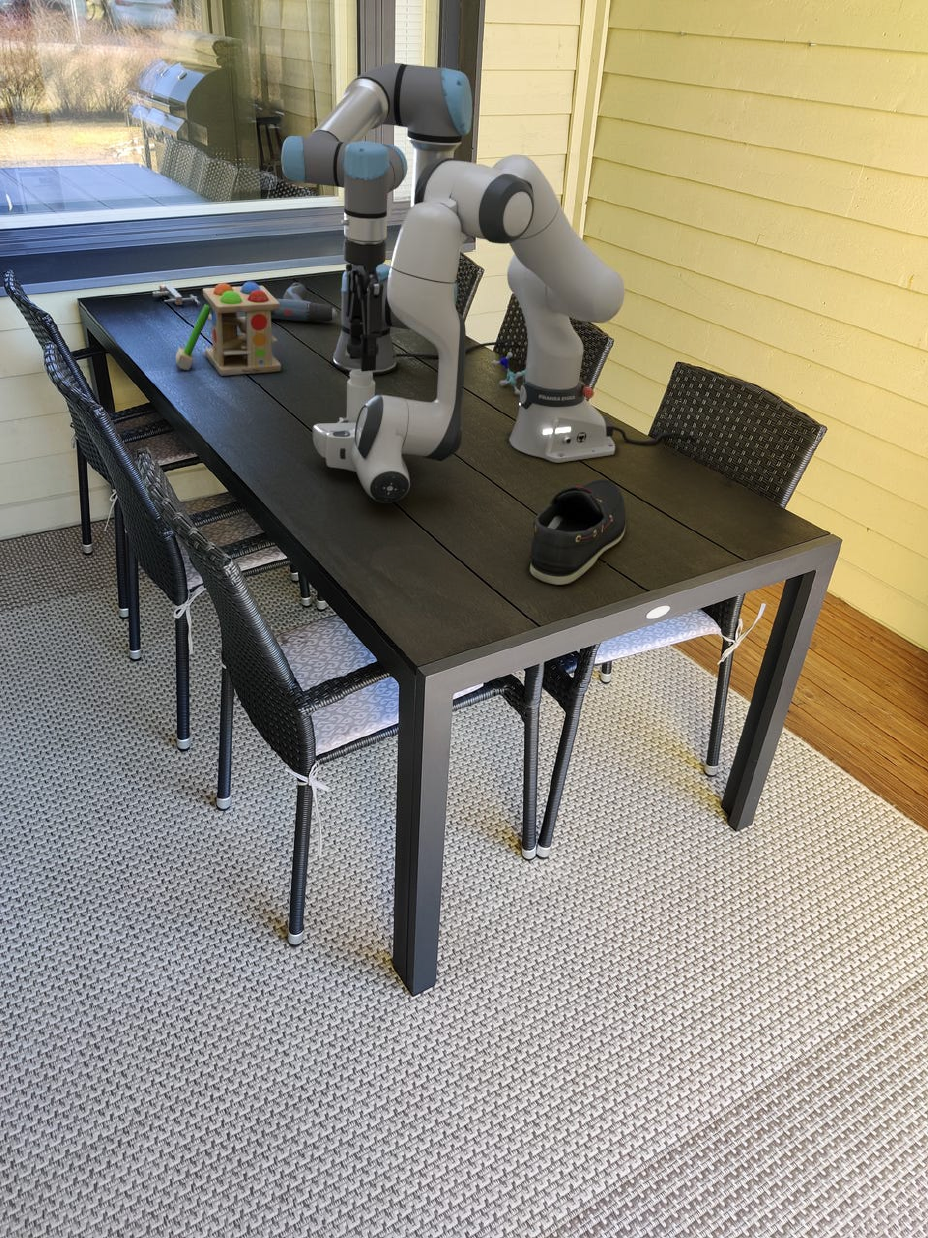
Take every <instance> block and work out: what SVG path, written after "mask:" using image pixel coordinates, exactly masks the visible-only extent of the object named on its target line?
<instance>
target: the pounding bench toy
mask: <svg viewBox="0 0 928 1238" xmlns="http://www.w3.org/2000/svg"><path fill="white" fill-rule="evenodd" d="M202 296H203V298H204V299H205V300H206V301H207V302H208V304H209V305H208V304H204V305H203V307H202V309H201V312H200V313H199V316H198V318H197V320H196V322H195V324H194V327H193V329H192V331H191V332H190V333H191V334H190V336H189V338H188V340H187V343H186V344H185V347H184V348H182V347H180V346H179V347H178V349H177V351H176V354H175V357H174V358H175V362H176V365H177V366H178V368H179V369H182V370H185V371H189V370H190V369H191V367H192V365H193V363H194V356H193V351H194V348H195V347H196V345H197V342H198V340H199V337H200V336H201V333H202V332H203V329H204V326H205V325H206V322H207V320H209V321H210V322H211V336H212V337H211V338H212V339H211V340H212V348H205V349H204V352H205V353H204V355H205V357H206V359H208V361H209V363H210V364H211V365H212V366H213V367H214V369H215V370H216V371H217V372H218V374H219V375H220V376H222V377H223V376H234V375H235V376H236V375H246V374H247V375H250V374H262V373H275V372H281V370H282V364H281V363H280V362H279V360H278V359H277V358H276V357H275V356H274V355H273V348H272V347H273V345H272V344H276V343H278V342H279V341H278V339H277V338H276V337H275V336H274V334H272V318H271V310H280V303H279V302H278V301H277V300H276V299H277V298H276V297H274V296H273V295H272V294H271V293H270V292H269V290H268V289H267V288H266V287H264V285H259V284H257V283H256V282H255V281H247V282H245V283H244V284H243V285H242V286H232V285H230V284H229V283H226V282H221V283H218V284H217V285H216V286H215V287H204V288H203V289H202ZM238 313H244V314H245V315H244V316H238ZM238 329H239V331H240V333H239V334H238Z"/></svg>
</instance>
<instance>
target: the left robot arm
mask: <svg viewBox="0 0 928 1238" xmlns="http://www.w3.org/2000/svg"><path fill="white" fill-rule="evenodd" d="M470 84H471V83H470V81H469V78H468V76H467V75H466V74H465V73H464V72H462V71H460V70H457V69H451V68H447V67H440V66H439V67H438V66H437V67H436V66H428V65H427V66H425V65H417V64H406V63H401V62H389V63H385V64H380V65H378V66H375V67H373V68H370V69H368V70H366V71H364V72H362V73H361V74H359V75H358V76H356V78H354V79H353V80H352V81H350V83H349V84H348V85H347V86H346V87H345V90H344V92H343V95H342V100H340V102H338V104H337V105H336V106H335V107H334V108H333V109H332V110H331V111H330V113H329V114H327V116H326V117H324V119H323V120H322V121H321V122H320V123H319V124H318V125H317V126H316V128H314V130H313V131H311V133H309V135H308V136H302V135H298V136H296V135H290V136H289V135H288V137H286V139H285V140H284V142H283V144H282V148H281V157H280V158H281V168H282V172H283V175H284V176H285V177H286V178H287V180H290V181H295V182H299V183H302V184H312V185H320V186H328V187H336V188H343V191H344V192H343V195H344V196H343V199H344V202H343V203H344V204H343V205H344V208H343V213H344V214H343V216H344V219H342V220H341V225H342V226H343V234H344V235H343V236H345V237H346V238H344V240H343V259H344V261H345V262H346V264H345V271H344V272H343V274H342V281H341V287H340V292H341V316H340V317H341V319H340V321H341V324H340V325H341V326H340V329H341V330H340V336H339V338H338V341H337V344H336V348H335V350H334V352H333V361H332V362H333V363H332V364H333V366H334V367H335V368H337V369H338V370H339V371H342V372H344V373H347V374H350V372H351V371H352V370H355V369H361V371H362V372H364V371H371V372H372V373H373V376H380V375H381V376H382V375H386V374H389V373H391V372H393V371H395V369H396V368H397V358H436V359H437V358H438V359H439V355H438V354H432V353H431V354H430V353H396V352H395V347H394V343H393V341H392V337H391V336H392V335H391V328H397V329H403V330H411V331H413V330H412V329H410V328H409V327H407V326H406V325H405V324H403V323H402V322H401V321H400V320H399V319H398V318H397V317H396V316H395V314H394V313H393V312H392V310H391V308H390V306H389V303H388V300H387V282H388V275H389V270H390V265H389V264H387V263H385V262H386V257H387V256H386V255H387V253H386V252H387V242H386V241H385V240H386V239H387V235H388V230H387V229H388V196H389V195H388V194H389V193H390V192H393V191H394V190H397V189H398V188H399V187H400V185H401V184H402V183H403V181H404V180H405V179H406V177H407V175H408V174H407V173H408V169H409V168H408V161H407V158H406V155H405V153H404V152H403V151H402V149H400V148H399V147H398V146H396V145H394V144H391V143H380V142H374V141H362V140H363V139H364V138H365V137H366V135H368V133H369V132H370V131H371V130H375V129H377V128H379V127H381V126H382V125H387V126H395V127H400V128H401V127H402V128H407V131H406V132H407V134H406V135H407V136H406V138H407V140H408V141H409V143H410V144H411V145H412V147H413V155H412V175H411V191H410V192H411V194H410V208H411V207H412V206H414V198H415V189H416V184H417V181H418V178H419V176H420V174H421V172H422V171H423V169H424V168H425V166H426V165H427V164H428V163H429V162H431V161H432V160H434V159H438V158H454V155H455V154H454V153H455V151H456V149H457V148H458V147H460V145H461V144H462V142H463V141H462V140H463V136H466V135H468V134H469V133H470V131H471V127H472V119H473V98H472V89H471V85H470ZM458 288H459V287H458V284H457V283H455V286H454V302H455V305H456V303H457V300H458V299H457V298H458V290H459V289H458ZM358 336H360V338H361V358H358V357H354V356H351V355H349V354H348V353H347V341H348V339H350V338H352V337H358ZM376 340H377V341H378V344H379V350H378V355H376ZM507 340H508V339H504V340H499V341H491V342H485V343H479V344H476V345H472V346H469V347H466V350H465V353H468V352H470V351H472V350H475V349H479V348H483V347H490V346H498V345H503V344H508V343H507V342H508V341H507ZM514 345H517V347H520V348H522V347H523V345H522V346H520V345H518V344H516V343H514Z"/></svg>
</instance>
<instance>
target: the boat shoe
mask: <svg viewBox="0 0 928 1238" xmlns="http://www.w3.org/2000/svg"><path fill="white" fill-rule="evenodd" d="M623 497H624V496H623V494H622V493H621V490H620V489H619V487H618V486H617V484H616V483H614V482H613V481H611V480H609V479H595V480H593V481H589V482H587V483H586V484H584V485H583V486H568V487H566V488H563V489H562V490H560V491H559V492H556V494H555V495H554V496H553V497H552V498H551V500H550V502H549V504H548V506H546V507H544V508H543V510H541V511H540V513H538V514H537V515H536V517H535V519H534V520H533V522H532V529H533V538H532V541H531V546H530V547H531V548H530V551H529V558H530V559H531V560H530V566H529V572H530V574H531V575H532V576H533V577H534V578H535V579H538V580H540V581H542V582H544V583H547V584H550V585H557V586H558V585H559V586H561V585H568V584H571V583H572V582H574V581H576V580H577V579H579V578H580V577H581V576H582V575H584V573H586V572H587V571H588V570H589V569H590V568H591V567H593V565H594V564H595V563H596V561H597V560H598V558H599V557H601V555H602V554H603V553H604V552H606V551H607V550H609V549H610V548H612V547H614V546H615V545H617V544H618V543H619V542H620V541H621V540H622V539H623V537H624V535H625V532H626V526H627V525H626V524H627V516H626V505H625V502H624V498H623Z"/></svg>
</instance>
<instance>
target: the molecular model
mask: <svg viewBox="0 0 928 1238" xmlns="http://www.w3.org/2000/svg"><path fill="white" fill-rule="evenodd" d="M512 357H513V353H512V352H510V351H509V352H507V355H506V357H502V358H501V359H500V360H492V361H491V365H492V366H498V365H501V366H503V367H504V368H505V370H506V372H507V374H506V379H505V380H500V381H499V386H501V387H504V386H505V387H506V386H507V385H509V386H511V387H512V388H513V389H514V394H515V396H520V389H518V387H517V385H516V384H517V380H518V379H519V378H521V377H522V378H523V376H524V375H525V371H526V367H525V368H524V370H521V371H517V372H516V373H514V372H513V371H511V370H510V368H509V365H508V362H509V359H510V358H512ZM526 361H527V358H526V359H525V362H526Z"/></svg>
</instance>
